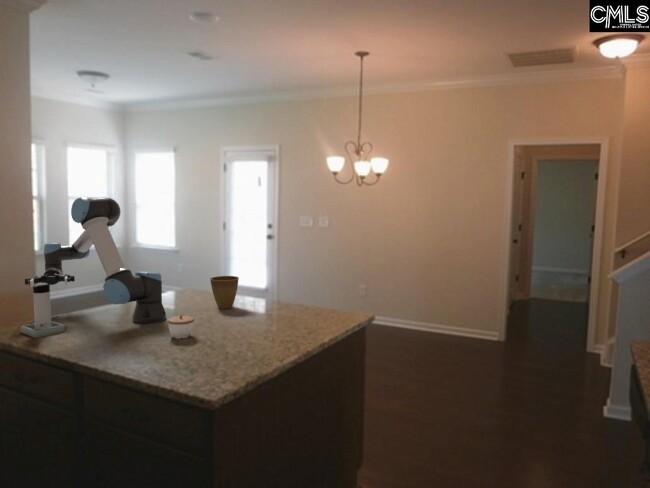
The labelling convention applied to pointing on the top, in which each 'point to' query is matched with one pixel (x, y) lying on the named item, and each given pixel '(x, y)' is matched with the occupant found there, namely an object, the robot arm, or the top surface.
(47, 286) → the travel mug
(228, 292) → the plant pot
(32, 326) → the tray
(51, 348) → the top surface
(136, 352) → the top surface
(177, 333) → the lidded jar
